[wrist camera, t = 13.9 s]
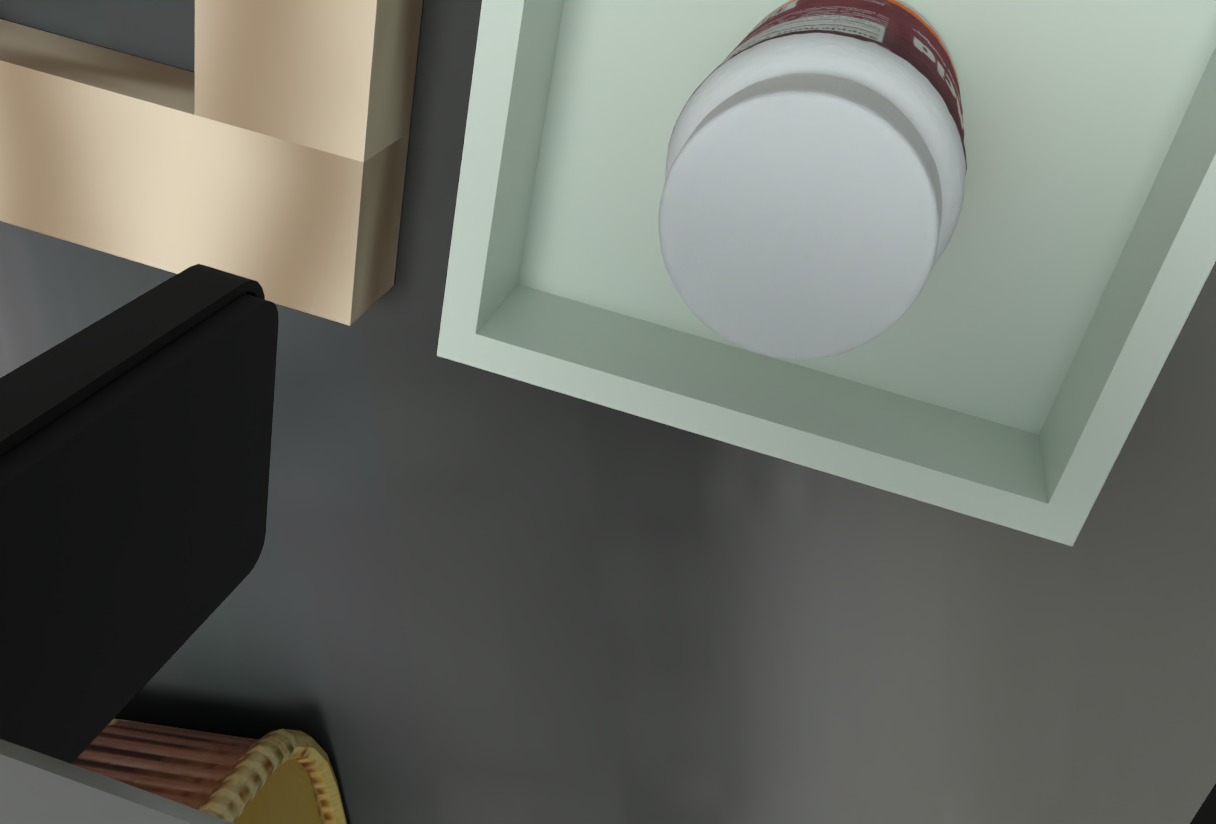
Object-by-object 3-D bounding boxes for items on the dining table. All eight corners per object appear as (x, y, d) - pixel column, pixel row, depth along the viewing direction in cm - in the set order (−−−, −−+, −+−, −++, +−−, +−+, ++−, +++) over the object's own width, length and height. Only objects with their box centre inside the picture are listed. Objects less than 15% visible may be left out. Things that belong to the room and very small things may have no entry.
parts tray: (1377, -215, 20) (1453, -213, 17) (1058, 461, 27) (1072, 546, 24) (592, -382, 21) (534, -408, 18) (489, 295, 29) (436, 355, 26)
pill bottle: (967, 205, 24) (977, 377, 17) (740, 227, 25) (658, 394, 18) (956, -38, 22) (961, 39, 15) (709, 1, 23) (605, 88, 16)
